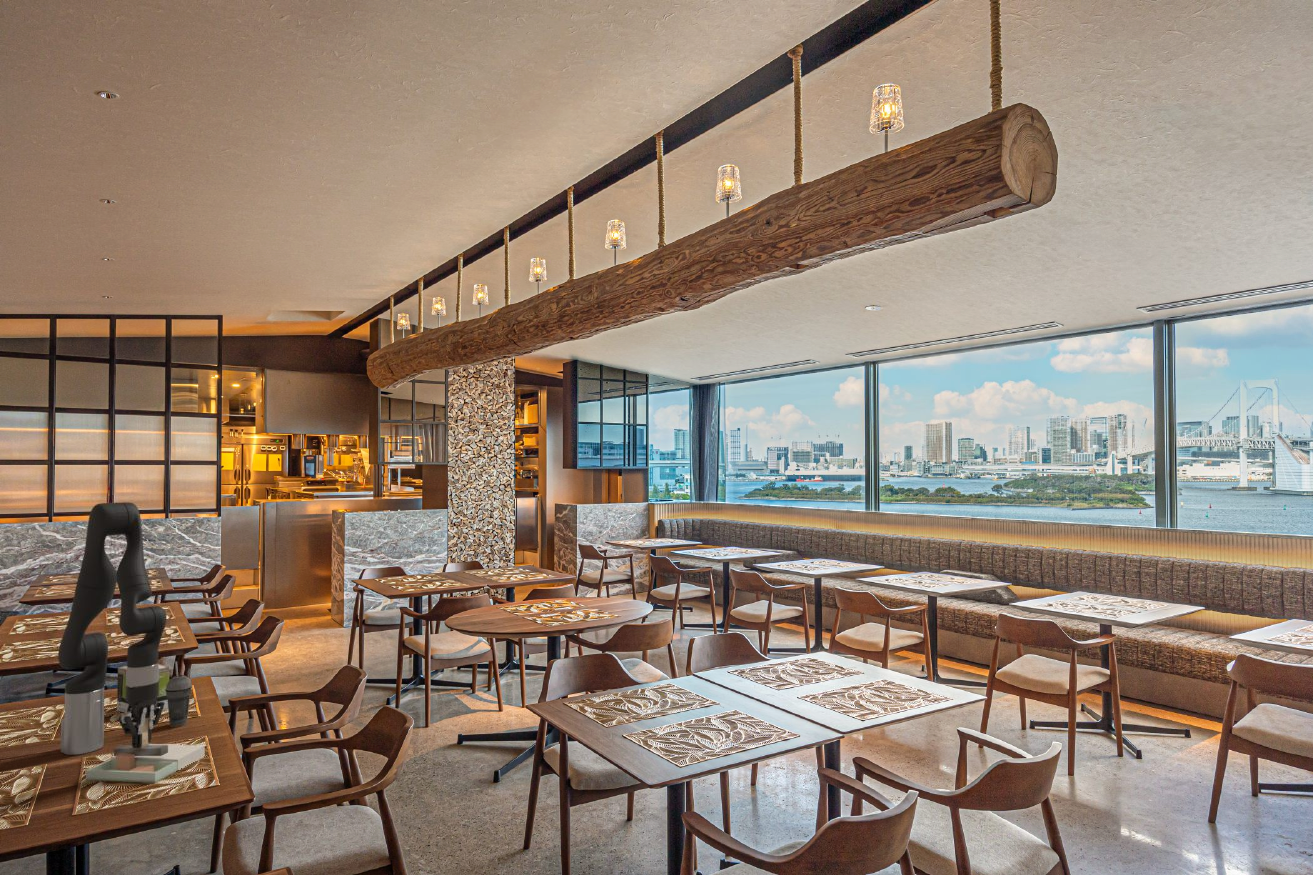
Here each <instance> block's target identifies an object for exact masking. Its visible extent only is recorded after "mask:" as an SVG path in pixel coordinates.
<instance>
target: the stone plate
mask: <svg viewBox="0 0 1313 875" xmlns="http://www.w3.org/2000/svg"><path fill="white" fill-rule="evenodd" d="M149 745H165V744H160V743H149ZM167 745H168V753H166V754H164V755H162V756H135V760H145V761H172V762H177V770H179V771H180V770H182V769H184V768H186V767H188V766H190V765H191V763H192V764H193V762H194V763H196V762H197V761H199V760H201V759H203V758H205V753H206V752H205V751H206V748H205V745H194V744H193V745H192V744H191V745H187V744H167ZM110 759H116V756H114V755H112V756H110ZM195 761H196V762H195ZM189 764H190V765H189ZM187 765H188V766H187ZM185 766H186V767H185ZM181 768H182V769H181Z"/></svg>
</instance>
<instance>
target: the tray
mask: <svg viewBox="0 0 1313 875" xmlns="http://www.w3.org/2000/svg"><path fill="white" fill-rule="evenodd" d="M140 765H142V766H154V772H140V771H116V759H111V758H110V759H108V760H106V761H103V762H102V763H100V764H97V765H95V766H92V767H91V768H89V769H86V770H85V781H99V782H100V781H103V782H121V781H122V782H124V783H147V784H148V783H149V784H151V783H152V784H156V783H158V782H160V781H161V780H164V779H165V778H167V777H170V776H172V775H173V774H175V773H177V772H178V771H177V762H172V761H145V760H135V768H136V767H138V766H140ZM176 771H177V772H176Z"/></svg>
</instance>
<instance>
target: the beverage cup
mask: <svg viewBox="0 0 1313 875" xmlns="http://www.w3.org/2000/svg"><path fill="white" fill-rule="evenodd" d="M174 664H175V665H174V666H175V676H173V677H172V678H169V682H168V683H167V686H166V690H165V691H166V695H167V699H168V709H167V710H168V718H169V719H168V720H169V727H170V728H179V727H178V726H181V727H183V726H187V722H188V717H189V707H190V706H189V705H190V697H191V694H192V688H193V685H192V682H191V679H190V678H189V677H187V676H186V675H183V674H181V675H180V674H179V672H178V671H179V669H178V661H176V660H175V661H174Z"/></svg>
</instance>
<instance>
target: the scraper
mask: <svg viewBox="0 0 1313 875" xmlns="http://www.w3.org/2000/svg"><path fill="white" fill-rule="evenodd" d="M135 722H139V721H135ZM136 729H137V725H136ZM148 730H149V728H148V718H145V722H144V724H143V725H142V733H141V734H142V747H140V748H133V747H132V744H131V745H130V744H125V745H124V744H123V745H122V744H121V745H119V746H116V747H114V748H113V756H117V755H119V754H121V753H128V754H135V756H162V755H164V754H166V753H168V745H169V744H164V745H149V744H150V743H148Z"/></svg>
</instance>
